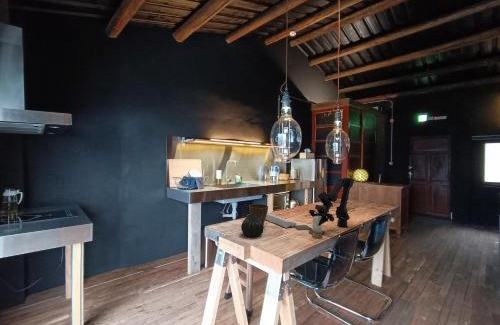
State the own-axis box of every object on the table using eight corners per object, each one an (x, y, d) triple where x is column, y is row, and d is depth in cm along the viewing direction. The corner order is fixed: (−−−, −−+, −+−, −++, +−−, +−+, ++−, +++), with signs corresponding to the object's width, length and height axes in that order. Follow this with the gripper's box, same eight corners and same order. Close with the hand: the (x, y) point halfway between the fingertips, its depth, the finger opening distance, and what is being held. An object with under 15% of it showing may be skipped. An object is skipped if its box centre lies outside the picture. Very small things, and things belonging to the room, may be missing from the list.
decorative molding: (270, 219, 221) (260, 218, 216) (271, 214, 222) (262, 212, 217) (295, 229, 192) (285, 227, 187) (296, 223, 192) (286, 221, 187)
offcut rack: (316, 231, 182) (316, 228, 182) (325, 233, 176) (325, 231, 176) (308, 233, 177) (308, 230, 177) (317, 236, 171) (317, 233, 171)
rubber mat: (306, 225, 196) (306, 224, 196) (312, 229, 186) (312, 228, 186) (293, 226, 194) (293, 225, 194) (298, 230, 184) (298, 229, 184)
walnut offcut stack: (316, 236, 172) (316, 229, 172) (322, 238, 168) (322, 231, 168) (311, 237, 168) (311, 230, 168) (317, 239, 164) (318, 232, 164)
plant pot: (267, 224, 197) (268, 204, 197) (267, 230, 182) (268, 208, 182) (249, 223, 199) (249, 203, 198) (247, 228, 184) (247, 207, 184)
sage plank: (316, 232, 180) (317, 215, 180) (321, 233, 177) (321, 217, 176) (312, 233, 177) (312, 216, 176) (317, 235, 174) (317, 218, 173)
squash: (266, 231, 161) (262, 210, 170) (243, 233, 158) (241, 212, 167) (262, 240, 171) (259, 220, 181) (241, 242, 168) (238, 221, 178)
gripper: (310, 198, 186) (300, 215, 179) (332, 202, 171) (322, 220, 165) (316, 207, 191) (307, 224, 184) (338, 212, 177) (329, 230, 170)
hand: (315, 224), depth 176 cm, fingers closed on sage plank, 4 cm apart
